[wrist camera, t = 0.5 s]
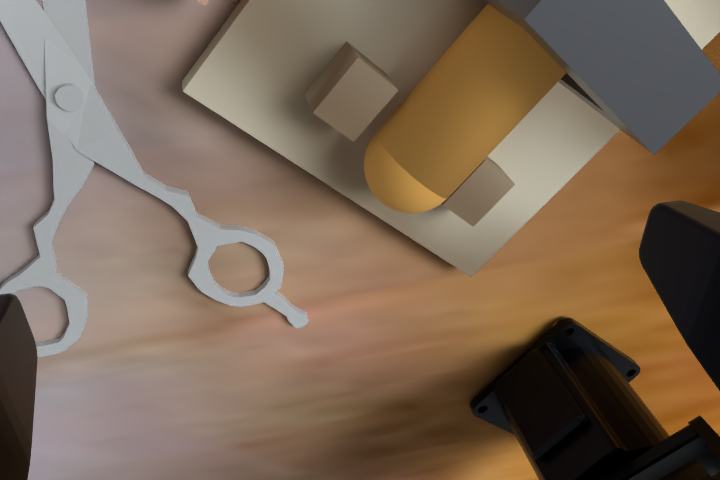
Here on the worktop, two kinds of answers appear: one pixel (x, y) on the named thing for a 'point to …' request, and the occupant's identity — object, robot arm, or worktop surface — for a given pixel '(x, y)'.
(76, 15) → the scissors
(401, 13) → the cradle board
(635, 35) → the dark gray horseshoe block
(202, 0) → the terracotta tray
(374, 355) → the worktop surface
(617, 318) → the worktop surface
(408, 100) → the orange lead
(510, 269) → the worktop surface
